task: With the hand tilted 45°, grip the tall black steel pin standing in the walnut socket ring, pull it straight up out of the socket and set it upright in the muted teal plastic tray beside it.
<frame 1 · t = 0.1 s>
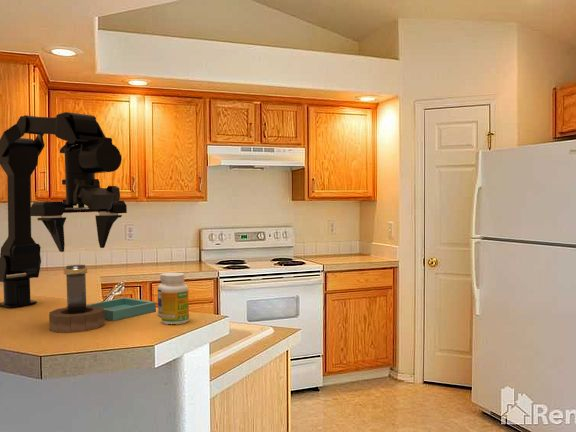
hand: (82, 249, 109), 15 cm above the table, tool pointing down, fingers open, 9 cm apart
tray: (119, 312, 115), on the table
socket: (77, 325, 104), on the table
pill bottle: (170, 315, 113), on the table
steel pin: (76, 295, 104), in the socket
supplement bottle: (175, 322, 106), on the table
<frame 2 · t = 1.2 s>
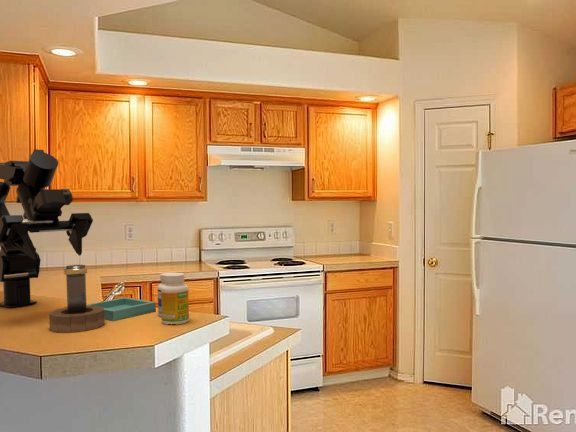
hand: (58, 256, 109), 13 cm above the table, tool tilted 45°, fingers open, 9 cm apart
nothing on the table moved.
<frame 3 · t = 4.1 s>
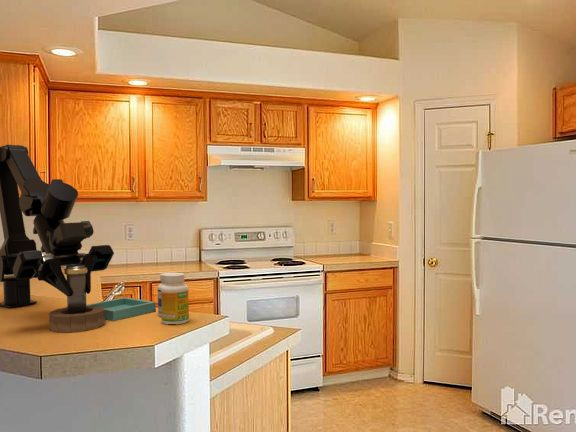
hand: (79, 293, 103), 7 cm above the table, tool tilted 45°, fingers closed on steel pin, 3 cm apart
steel pin: (76, 295, 104), in the socket, touching gripper
everything else where it was.
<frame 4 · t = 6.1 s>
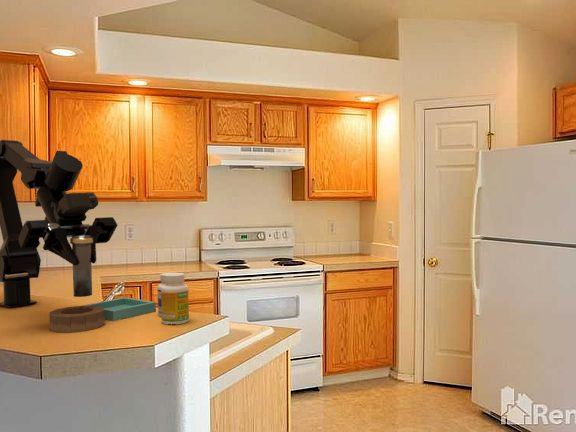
hand: (85, 263, 104), 12 cm above the table, tool tilted 45°, fingers closed on steel pin, 3 cm apart
steel pin: (82, 265, 105), point 12 cm above the table, touching gripper
everything else where it was.
when the fingers open (8 cm above the table, at t = 8.3 s): steel pin drops 1 cm, resting on tray.
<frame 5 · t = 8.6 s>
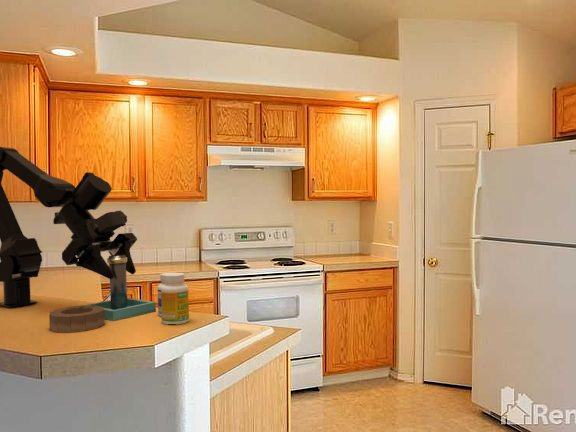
hand: (123, 275, 115), 8 cm above the table, tool tilted 45°, fingers open, 7 cm apart
steel pin: (118, 282, 115), in the tray, point 7 cm above the table
everything else where it was.
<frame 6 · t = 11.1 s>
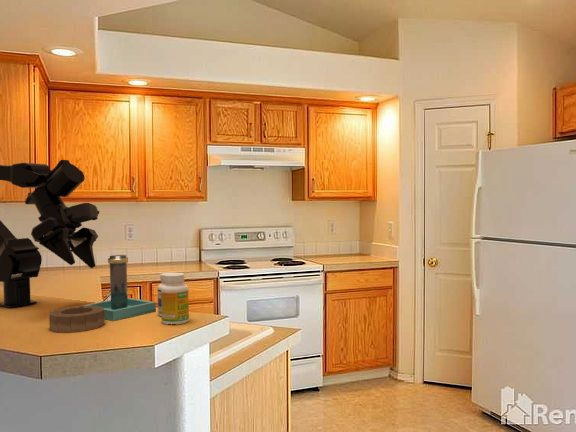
hand: (83, 265, 117), 10 cm above the table, tool tilted 35°, fingers open, 9 cm apart
nothing on the table moved.
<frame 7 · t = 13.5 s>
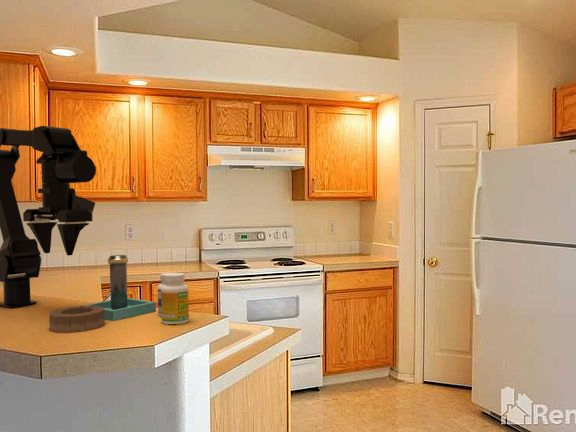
hand: (58, 254, 116), 13 cm above the table, tool pointing down, fingers open, 9 cm apart
nothing on the table moved.
at the end: steel pin 0.1 cm off-centre on the tray, point 6.6 cm above the tray's base; steel pin tilted 0°; the gripper is holding nothing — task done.
